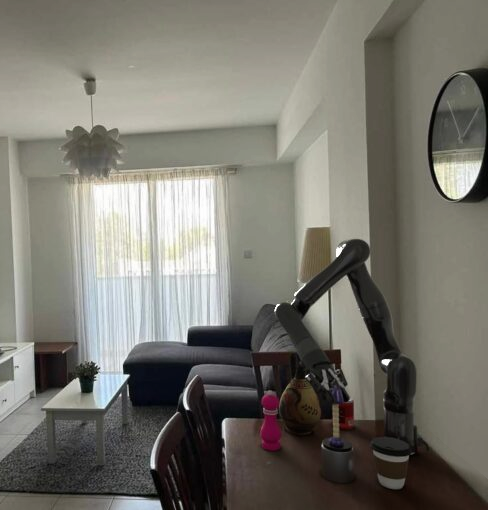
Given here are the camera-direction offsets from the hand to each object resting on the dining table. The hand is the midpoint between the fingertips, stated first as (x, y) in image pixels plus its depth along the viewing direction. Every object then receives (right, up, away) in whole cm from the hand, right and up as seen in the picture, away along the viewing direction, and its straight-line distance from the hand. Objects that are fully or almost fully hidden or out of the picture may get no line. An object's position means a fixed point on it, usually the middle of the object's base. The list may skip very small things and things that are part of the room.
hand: (341, 402), depth 140 cm
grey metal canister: (0, -23, +2) cm, 23 cm away
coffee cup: (+13, -23, -4) cm, 27 cm away
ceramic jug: (0, -23, +39) cm, 45 cm away
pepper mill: (-15, -24, +23) cm, 36 cm away
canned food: (+18, -23, +42) cm, 51 cm away
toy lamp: (-1, -13, +2) cm, 13 cm away
